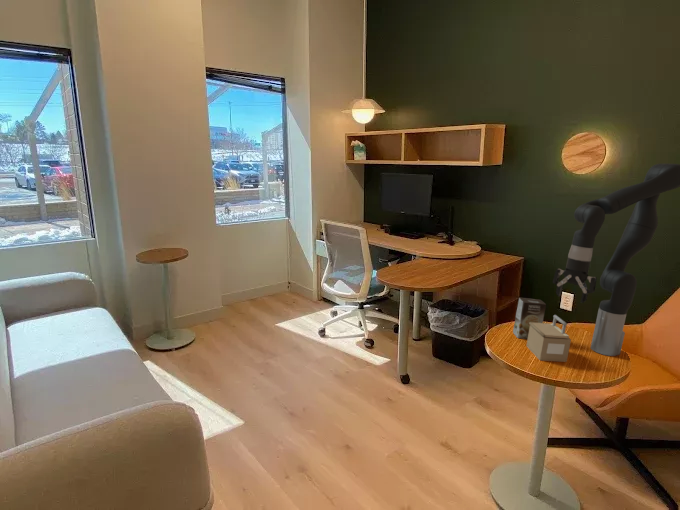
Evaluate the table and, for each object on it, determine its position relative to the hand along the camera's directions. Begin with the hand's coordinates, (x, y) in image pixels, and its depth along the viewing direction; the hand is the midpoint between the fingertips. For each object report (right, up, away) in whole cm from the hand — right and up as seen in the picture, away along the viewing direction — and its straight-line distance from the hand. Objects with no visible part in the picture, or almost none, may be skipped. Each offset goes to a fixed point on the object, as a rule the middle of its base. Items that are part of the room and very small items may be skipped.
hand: (570, 298), depth 159 cm
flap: (-9, -12, -1) cm, 15 cm away
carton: (-9, -21, +1) cm, 23 cm away
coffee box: (-9, -18, +17) cm, 26 cm away
